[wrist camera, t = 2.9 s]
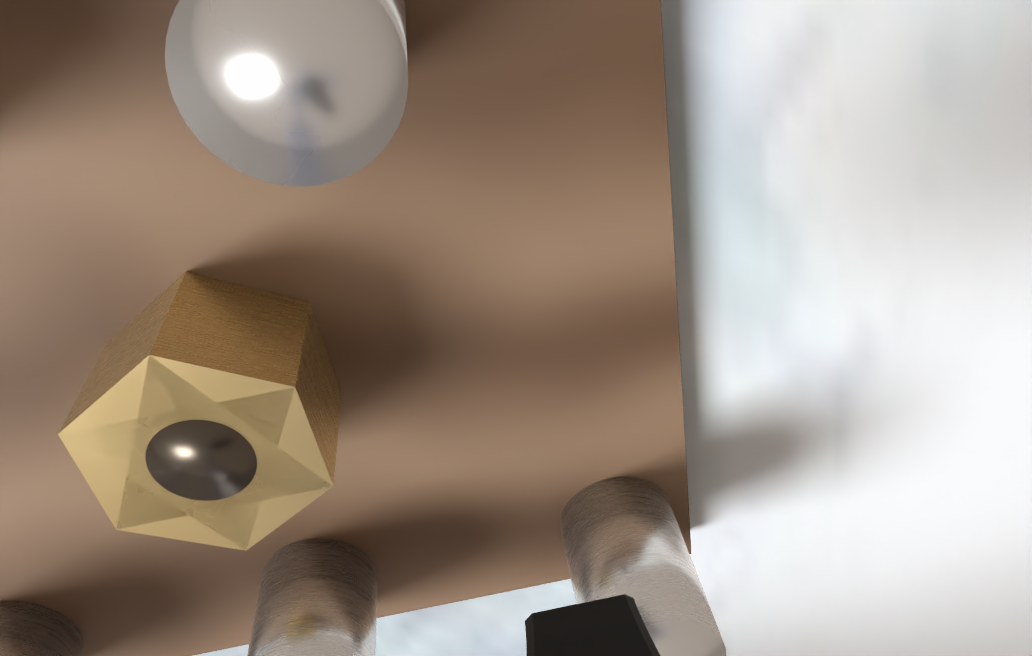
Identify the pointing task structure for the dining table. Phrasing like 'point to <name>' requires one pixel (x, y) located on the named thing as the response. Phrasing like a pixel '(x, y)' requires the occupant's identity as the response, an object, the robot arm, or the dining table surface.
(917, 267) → the dining table surface
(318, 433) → the brass nut
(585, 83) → the spacer board
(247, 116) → the steel spacers
